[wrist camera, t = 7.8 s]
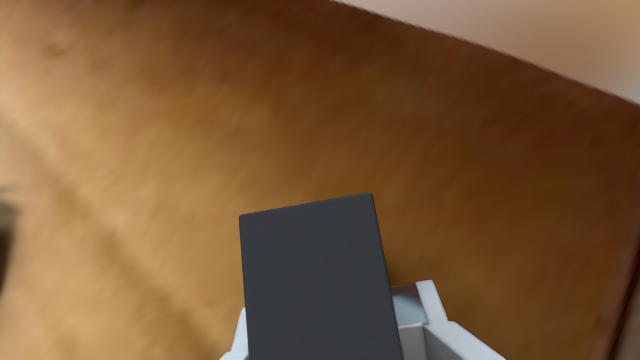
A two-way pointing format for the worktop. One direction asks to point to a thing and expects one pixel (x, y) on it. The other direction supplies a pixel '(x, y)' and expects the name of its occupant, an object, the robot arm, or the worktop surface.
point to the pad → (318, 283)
